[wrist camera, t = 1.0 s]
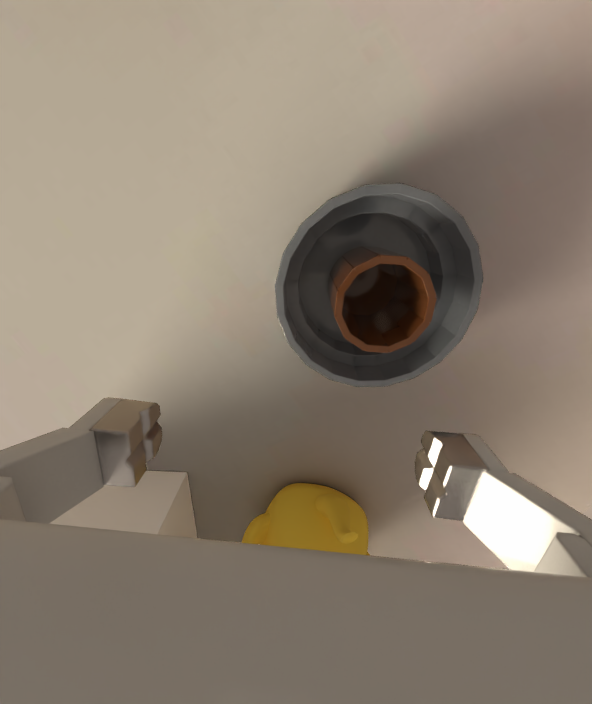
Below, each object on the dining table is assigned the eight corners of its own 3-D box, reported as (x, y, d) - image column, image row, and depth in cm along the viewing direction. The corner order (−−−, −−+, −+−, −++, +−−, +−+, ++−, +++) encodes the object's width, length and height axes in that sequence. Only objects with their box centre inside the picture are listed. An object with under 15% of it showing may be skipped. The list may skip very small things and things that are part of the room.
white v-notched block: (58, 467, 37) (-358, 877, 14) (187, 472, 36) (-21, 902, 13) (96, 572, 44) (-133, 954, 21) (203, 577, 44) (88, 972, 21)
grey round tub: (347, 152, 24) (359, 130, 18) (482, 259, 26) (528, 269, 21) (252, 303, 28) (239, 323, 23) (374, 382, 31) (389, 417, 26)
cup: (357, 230, 25) (377, 233, 18) (415, 274, 26) (457, 293, 19) (313, 293, 27) (315, 319, 20) (369, 331, 28) (390, 369, 21)
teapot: (343, 454, 35) (356, 536, 25) (382, 532, 39) (405, 627, 30) (236, 489, 37) (212, 576, 28) (283, 559, 42) (277, 653, 33)
